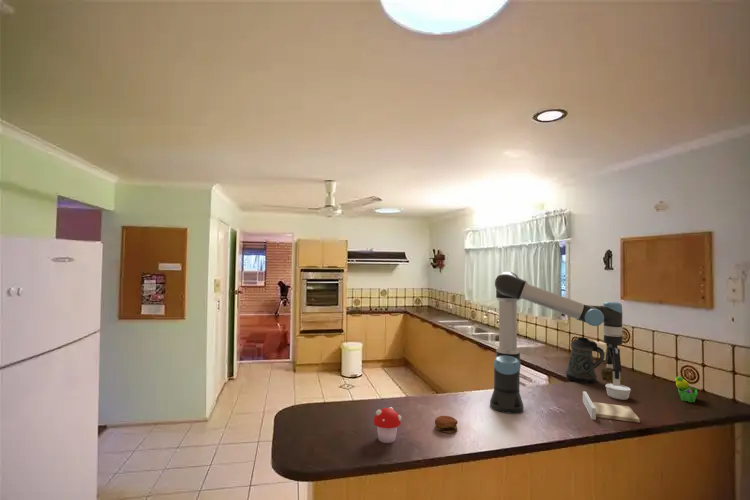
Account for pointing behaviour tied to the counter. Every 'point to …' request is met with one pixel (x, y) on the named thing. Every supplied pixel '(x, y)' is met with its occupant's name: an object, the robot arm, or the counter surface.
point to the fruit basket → (685, 390)
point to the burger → (446, 424)
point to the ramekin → (618, 391)
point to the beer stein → (583, 361)
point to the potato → (609, 375)
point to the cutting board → (615, 412)
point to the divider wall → (589, 405)
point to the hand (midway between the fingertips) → (613, 381)
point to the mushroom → (387, 424)
